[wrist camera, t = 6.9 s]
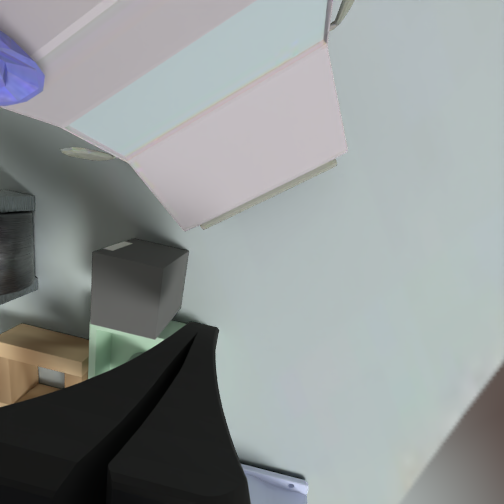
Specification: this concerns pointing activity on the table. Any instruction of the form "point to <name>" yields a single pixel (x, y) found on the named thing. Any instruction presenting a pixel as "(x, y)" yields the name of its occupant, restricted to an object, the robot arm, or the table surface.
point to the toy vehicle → (183, 92)
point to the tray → (119, 346)
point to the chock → (137, 286)
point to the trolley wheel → (16, 245)
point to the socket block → (38, 361)
